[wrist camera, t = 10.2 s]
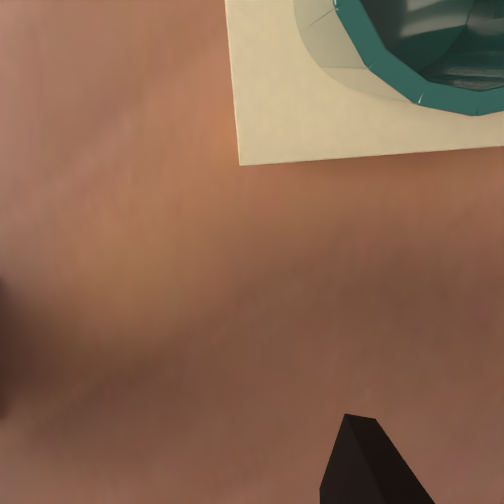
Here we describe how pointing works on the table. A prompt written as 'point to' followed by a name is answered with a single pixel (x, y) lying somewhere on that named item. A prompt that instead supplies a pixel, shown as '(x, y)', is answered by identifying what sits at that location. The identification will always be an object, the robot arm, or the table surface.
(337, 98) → the block
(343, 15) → the cup
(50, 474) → the table surface
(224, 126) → the table surface
